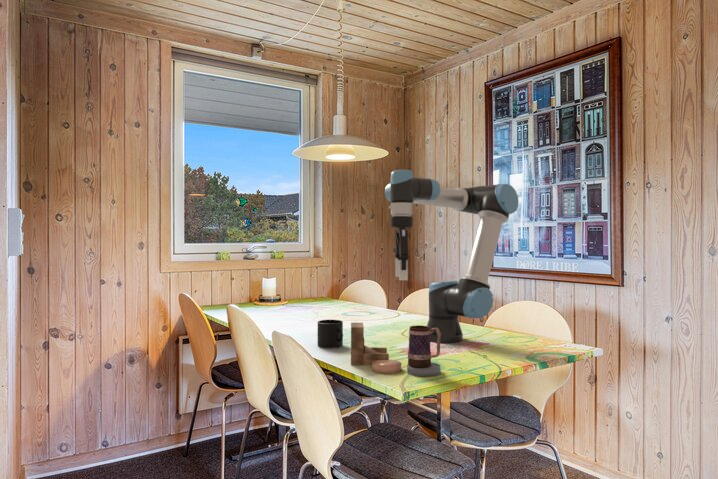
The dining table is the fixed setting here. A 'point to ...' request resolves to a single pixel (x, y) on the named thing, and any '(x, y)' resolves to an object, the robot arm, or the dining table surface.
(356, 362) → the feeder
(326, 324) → the mug
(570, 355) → the dining table surface
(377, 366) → the pink disc
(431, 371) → the stand slate
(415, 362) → the mug
